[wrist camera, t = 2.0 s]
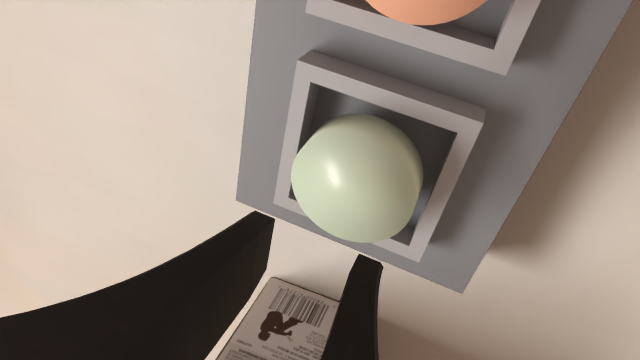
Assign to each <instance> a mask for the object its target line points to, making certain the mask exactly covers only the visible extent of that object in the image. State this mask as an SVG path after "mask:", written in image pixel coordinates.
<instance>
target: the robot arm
mask: <svg viewBox="0 0 640 360" xmlns="http://www.w3.org/2000/svg"><path fill="white" fill-rule="evenodd" d="M274 222H275V219H274V218H272V217H269V216H267V215H264V214H262V213H260V212H257V211H254V212H251V213H250V214H248V215H247V216H245V217H244V218H242V219H240V220H239V221H237V222H236V223H234V224H233V225H231V226H229V227H228V228H226V229H225V230H223V231H221V232H220V233H218V234H216V235H215V236H213V237H211V238H210V239H208V240H206V241H204V242H203V243H201V244H199V245H197V246H196V247H194V248H192V249H190V250H189V251H187V252H185V253H183V254H181V255H179V256H177V257H175V258H173V259H171V260H169V261H167V262H165V263H163V264H161V265H159V266H157V267H155V268H153V269H151V270H148V271H146V272H144V273H142V274H139V275H137V276H135V277H132V278H130V279H127V280H125V281H122V282H120V283H117V284H115V285H112V286H109V287H106V288H104V289H101V290H98V291H96V292H93V293H90V294H87V295H84V296H81V297H78V298H74V299H71V300H67V301H64V302H60V303H57V304H54V305H50V306H47V307H43V308H40V309H36V310H32V311H28V312H24V313H20V314H15V315H10V316H6V317H1V318H0V360H205V358H206V357H207V356H208V354H209V353H210V352H211V350H212V349H213V348H214V346H215V345H216V344H217V342H218V341H219V340H220V338H221V337H222V335H223V334H224V333H225V331H226V330H227V329H228V327H229V326H230V325H231V323H232V322H233V321H234V319H235V318H236V317H237V315H238V314H239V312H240V311H241V310H242V308H243V307H244V306H245V304H246V303H247V301H248V300H249V299H250V297H251V295H252V293H253V292H254V290H255V288H256V287H257V285H258V283H259V281H260V279H261V278H262V276H263V274H264V272H265V270H266V268H267V262H268V257H269V251H270V245H271V239H272V234H273V228H274ZM382 270H383V266H382V264H381V263H380V262H378V261H375V260H373V259H371V258H368V257H366V256H363V255H361V254H359V255H358V257H357V259H356V261H355V263H354V265H353V267H352V269H351V271H350V273H349V276H348V279H347V282H346V285H345V288H344V290H343V293H342V296H341V299H340V302H339V305H338V308H337V311H336V314H335V317H334V320H333V323H332V326H331V329H330V332H329V335H328V338H327V341H326V344H325V347H324V350H323V354H322V356H321V359H320V360H379V357H378V339H377V310H378V293H379V285H380V279H381V274H382Z"/></svg>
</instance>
